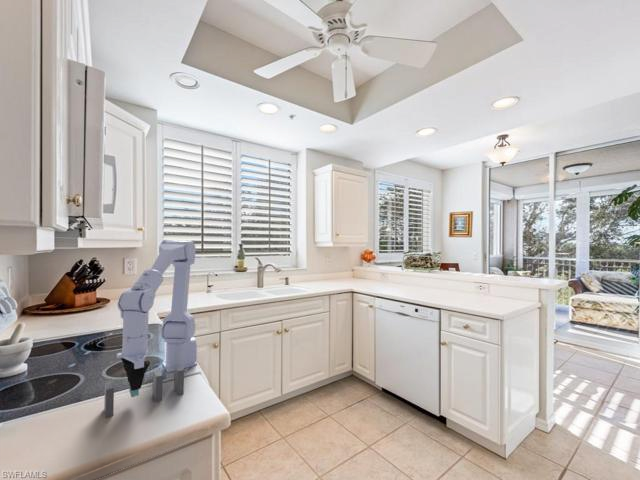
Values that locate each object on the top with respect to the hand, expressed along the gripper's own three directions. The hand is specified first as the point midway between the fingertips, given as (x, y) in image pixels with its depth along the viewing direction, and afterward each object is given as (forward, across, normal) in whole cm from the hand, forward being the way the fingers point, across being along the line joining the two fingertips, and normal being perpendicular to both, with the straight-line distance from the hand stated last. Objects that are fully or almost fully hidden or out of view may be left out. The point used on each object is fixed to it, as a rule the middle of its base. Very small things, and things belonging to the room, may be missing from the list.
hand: (134, 385), depth 76 cm
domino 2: (+2, 0, 0) cm, 2 cm away
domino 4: (+5, 0, +11) cm, 12 cm away
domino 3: (+5, 0, +6) cm, 8 cm away
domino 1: (+5, 0, -6) cm, 8 cm away
